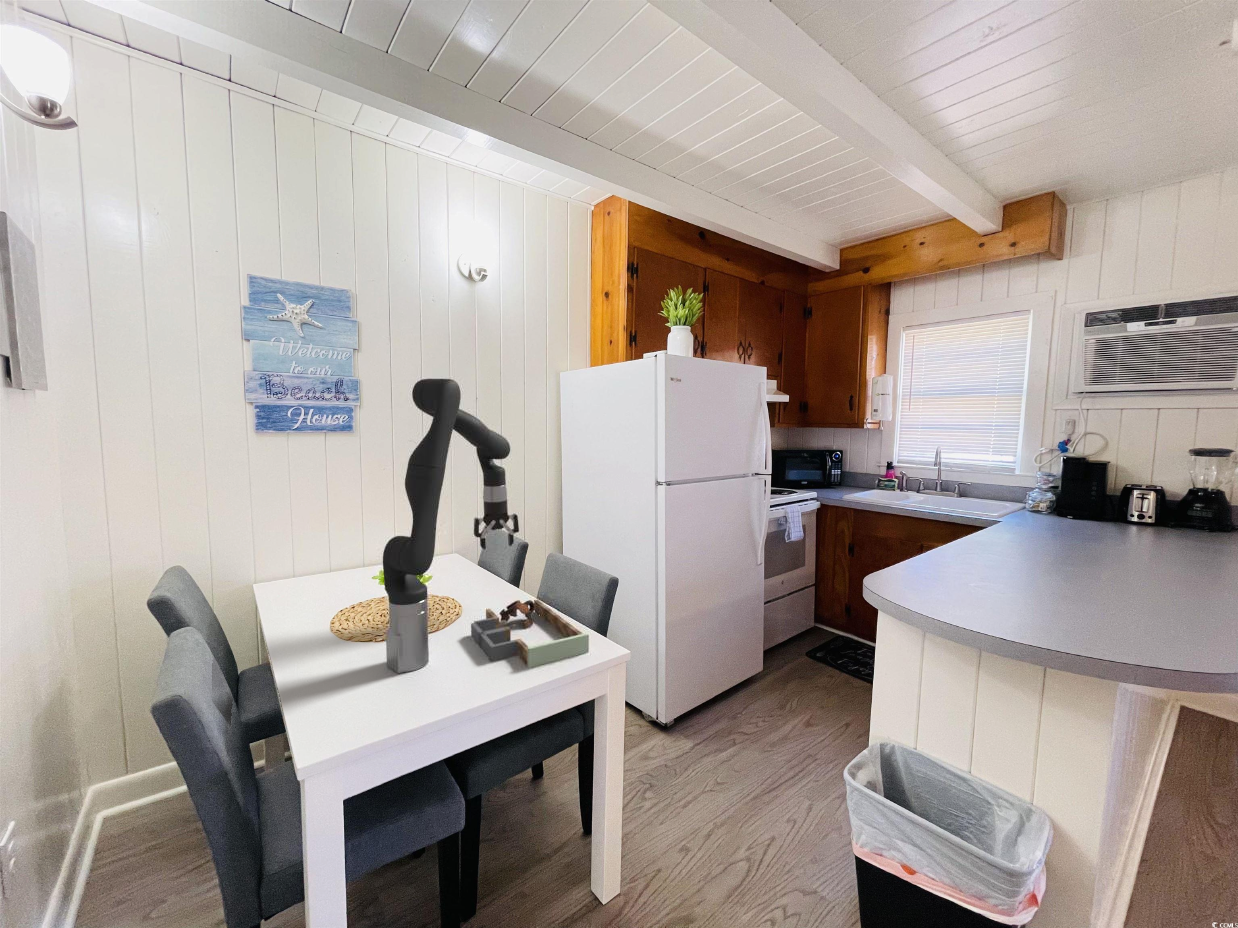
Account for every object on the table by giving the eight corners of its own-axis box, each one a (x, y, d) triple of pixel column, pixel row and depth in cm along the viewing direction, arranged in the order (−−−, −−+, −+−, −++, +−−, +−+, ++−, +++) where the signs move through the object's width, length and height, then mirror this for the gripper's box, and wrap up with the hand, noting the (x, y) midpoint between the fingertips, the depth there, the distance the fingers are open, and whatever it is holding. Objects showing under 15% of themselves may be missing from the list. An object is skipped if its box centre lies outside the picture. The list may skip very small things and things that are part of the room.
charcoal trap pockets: (517, 655, 136) (517, 641, 136) (491, 661, 133) (491, 647, 132) (493, 630, 153) (493, 617, 152) (470, 635, 149) (469, 622, 149)
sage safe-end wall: (588, 652, 139) (588, 634, 139) (529, 667, 130) (529, 648, 129) (586, 650, 140) (586, 632, 140) (527, 665, 131) (527, 647, 130)
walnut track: (586, 650, 140) (586, 636, 140) (527, 665, 131) (527, 650, 130) (537, 611, 168) (537, 599, 168) (486, 621, 159) (485, 609, 159)
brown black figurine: (523, 634, 151) (509, 610, 151) (504, 640, 157) (490, 617, 156) (547, 612, 161) (533, 589, 161) (528, 618, 167) (515, 597, 166)
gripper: (474, 502, 158) (477, 553, 160) (519, 498, 164) (521, 547, 166) (470, 498, 165) (473, 546, 167) (514, 494, 171) (515, 541, 173)
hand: (497, 547), depth 167 cm, fingers open, 8 cm apart
